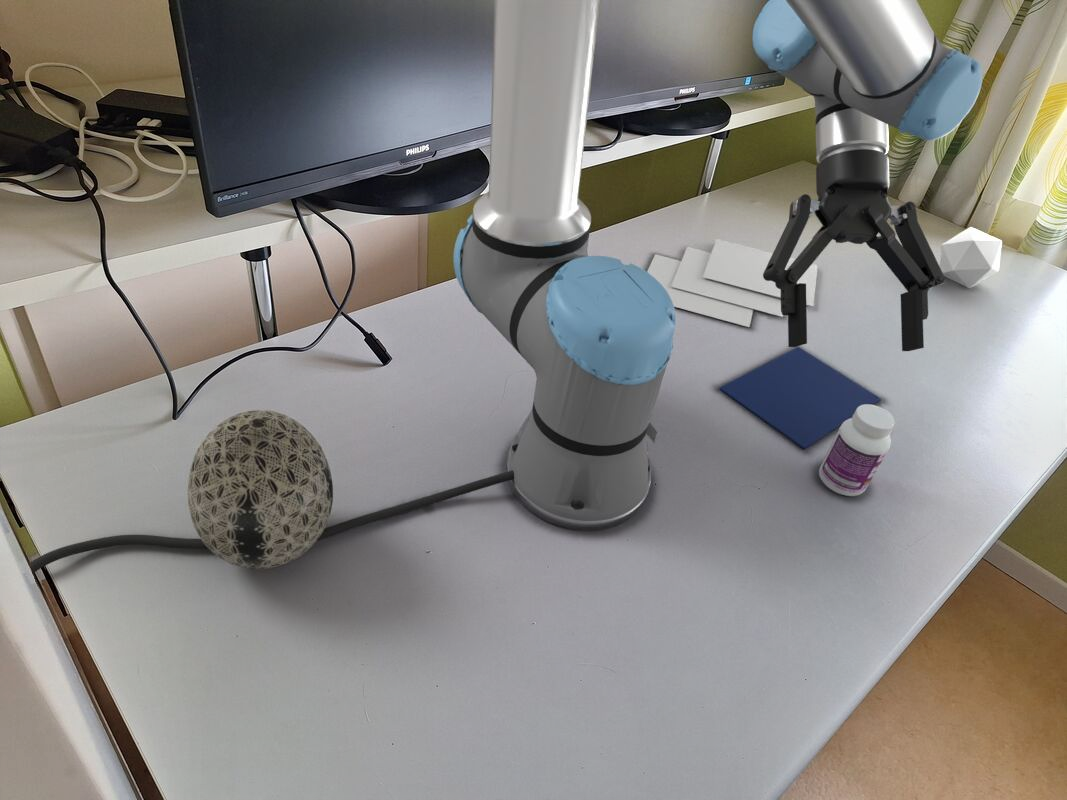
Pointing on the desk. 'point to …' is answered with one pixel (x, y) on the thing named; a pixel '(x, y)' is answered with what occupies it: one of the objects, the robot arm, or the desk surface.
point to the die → (970, 257)
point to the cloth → (799, 396)
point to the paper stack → (725, 282)
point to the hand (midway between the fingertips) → (855, 347)
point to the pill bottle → (857, 450)
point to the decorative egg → (260, 490)
